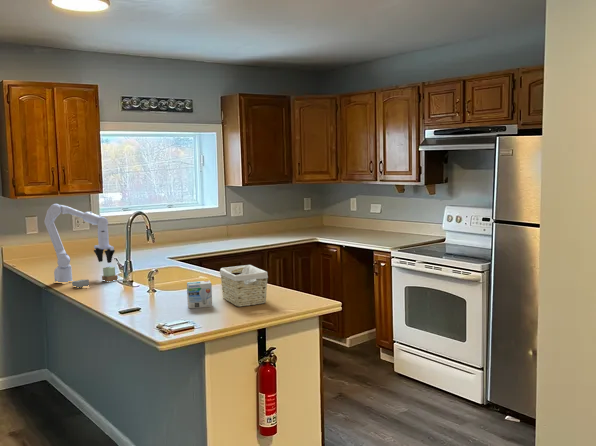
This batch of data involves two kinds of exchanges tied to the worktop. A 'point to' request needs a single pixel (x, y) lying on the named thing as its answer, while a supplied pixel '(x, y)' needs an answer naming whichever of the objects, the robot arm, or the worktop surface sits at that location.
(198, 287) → the light bulb box
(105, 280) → the walnut block
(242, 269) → the storage basket
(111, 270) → the sage cube
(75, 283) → the slate block
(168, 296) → the worktop surface
